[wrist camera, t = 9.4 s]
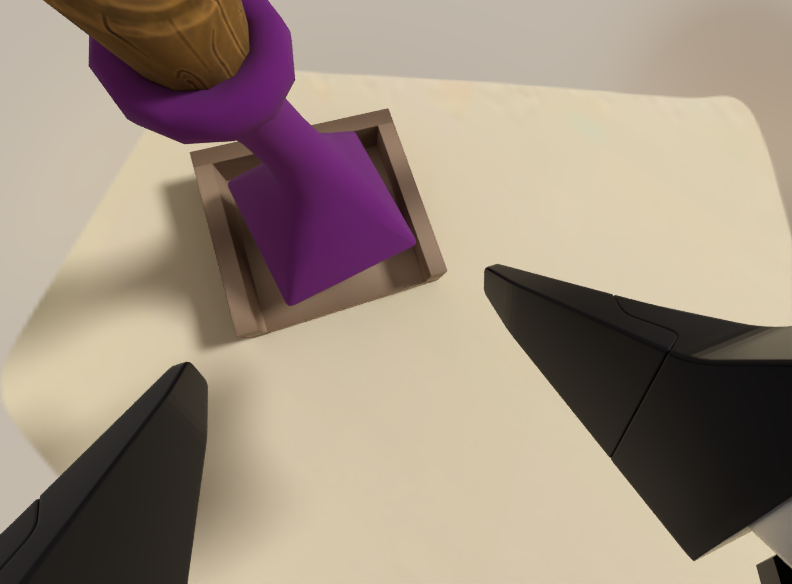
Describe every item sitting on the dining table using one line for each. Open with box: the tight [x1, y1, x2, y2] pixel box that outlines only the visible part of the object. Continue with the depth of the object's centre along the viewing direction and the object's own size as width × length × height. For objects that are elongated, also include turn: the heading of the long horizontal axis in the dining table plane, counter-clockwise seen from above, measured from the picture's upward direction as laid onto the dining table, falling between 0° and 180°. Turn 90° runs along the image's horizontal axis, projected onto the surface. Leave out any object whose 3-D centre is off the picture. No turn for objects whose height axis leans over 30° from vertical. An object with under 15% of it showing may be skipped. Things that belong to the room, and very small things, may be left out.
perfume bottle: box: [44, 0, 416, 306], centre depth 11 cm, size 8×8×18 cm
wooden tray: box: [190, 109, 447, 338], centre depth 19 cm, size 11×12×2 cm
